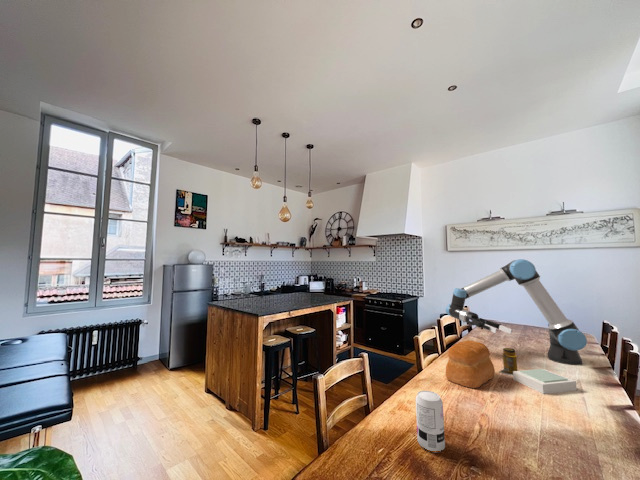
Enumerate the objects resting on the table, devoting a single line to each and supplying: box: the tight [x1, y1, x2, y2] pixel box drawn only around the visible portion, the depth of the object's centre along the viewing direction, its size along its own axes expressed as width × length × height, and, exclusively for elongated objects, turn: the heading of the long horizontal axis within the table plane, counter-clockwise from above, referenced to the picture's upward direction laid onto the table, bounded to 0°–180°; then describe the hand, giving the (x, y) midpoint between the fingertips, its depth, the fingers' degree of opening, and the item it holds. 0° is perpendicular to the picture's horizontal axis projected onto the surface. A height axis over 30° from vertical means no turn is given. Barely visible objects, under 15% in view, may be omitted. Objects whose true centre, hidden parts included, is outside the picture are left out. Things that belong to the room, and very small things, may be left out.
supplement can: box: [415, 390, 446, 452], centre depth 85 cm, size 8×8×15 cm
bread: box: [445, 340, 495, 389], centre depth 135 cm, size 16×26×17 cm, turn 128°
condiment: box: [498, 347, 519, 377], centre depth 141 cm, size 7×8×12 cm
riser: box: [512, 368, 578, 395], centre depth 126 cm, size 18×15×5 cm
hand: (503, 331), depth 146 cm, fingers open, 13 cm apart
